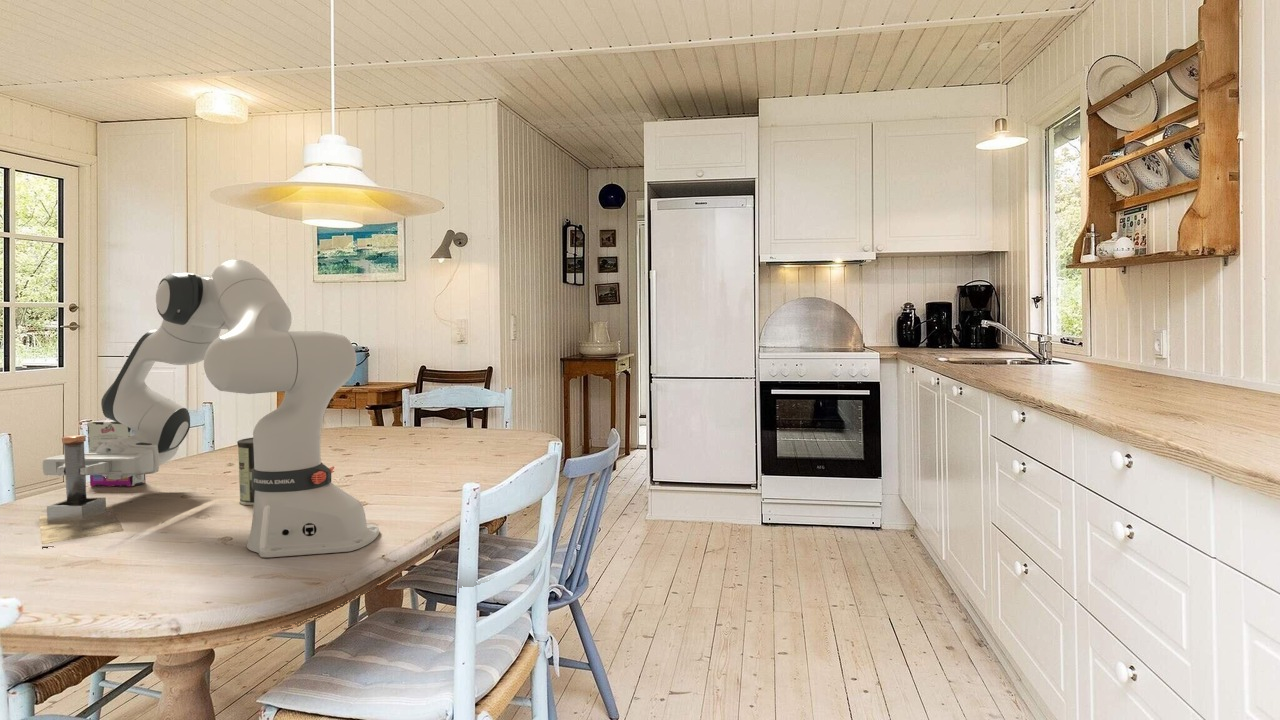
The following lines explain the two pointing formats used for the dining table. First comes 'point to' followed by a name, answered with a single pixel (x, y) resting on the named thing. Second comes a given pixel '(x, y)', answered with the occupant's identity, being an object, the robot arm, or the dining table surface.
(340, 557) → the dining table surface
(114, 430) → the candy bar box
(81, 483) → the pin
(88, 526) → the tan wooden board
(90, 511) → the shallow grey tray
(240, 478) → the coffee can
